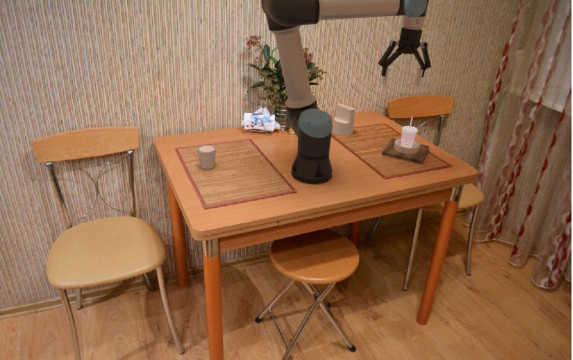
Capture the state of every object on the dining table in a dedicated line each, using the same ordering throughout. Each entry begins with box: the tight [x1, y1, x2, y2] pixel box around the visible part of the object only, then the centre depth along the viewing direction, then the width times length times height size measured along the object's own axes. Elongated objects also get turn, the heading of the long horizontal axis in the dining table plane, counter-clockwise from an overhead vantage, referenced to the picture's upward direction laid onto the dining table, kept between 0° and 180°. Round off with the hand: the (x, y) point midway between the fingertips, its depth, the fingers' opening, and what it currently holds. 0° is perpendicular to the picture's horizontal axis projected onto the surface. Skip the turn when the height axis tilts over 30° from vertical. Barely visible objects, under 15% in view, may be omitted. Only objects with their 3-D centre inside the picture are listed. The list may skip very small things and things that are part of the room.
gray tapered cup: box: [196, 144, 217, 170], centre depth 166 cm, size 7×7×7 cm
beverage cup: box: [401, 116, 418, 147], centre depth 182 cm, size 6×6×14 cm
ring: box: [394, 137, 421, 154], centre depth 185 cm, size 10×10×2 cm
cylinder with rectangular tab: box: [332, 103, 356, 137], centre depth 200 cm, size 9×9×12 cm
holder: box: [382, 137, 430, 165], centre depth 186 cm, size 16×16×2 cm
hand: (400, 85), depth 172 cm, fingers open, 13 cm apart
